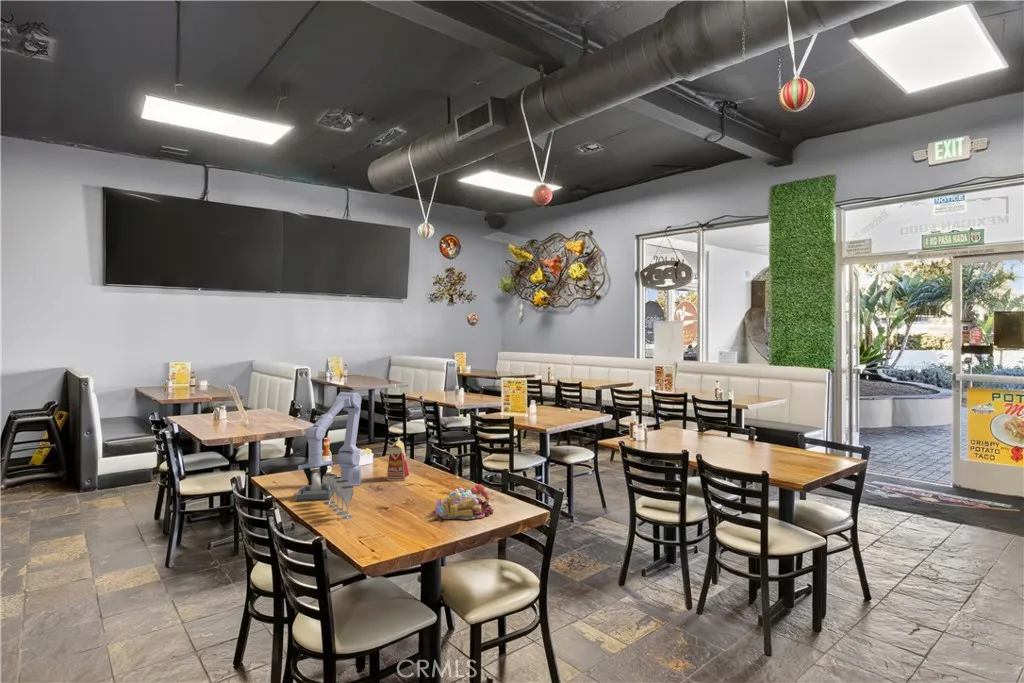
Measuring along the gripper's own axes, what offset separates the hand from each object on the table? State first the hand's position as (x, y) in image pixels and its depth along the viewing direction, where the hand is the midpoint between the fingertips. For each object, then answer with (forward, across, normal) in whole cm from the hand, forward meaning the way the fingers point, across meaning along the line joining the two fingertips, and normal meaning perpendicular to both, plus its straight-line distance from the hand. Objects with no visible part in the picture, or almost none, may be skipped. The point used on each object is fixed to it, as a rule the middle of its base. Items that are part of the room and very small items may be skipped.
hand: (315, 484), depth 242 cm
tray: (+5, 0, 0) cm, 5 cm away
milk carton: (+6, -41, -6) cm, 42 cm away
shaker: (+3, 0, 0) cm, 3 cm away
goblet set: (+6, -2, +24) cm, 25 cm away
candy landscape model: (+6, -44, +56) cm, 71 cm away
